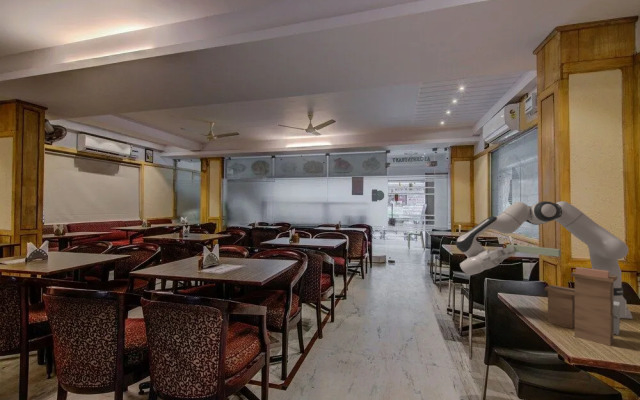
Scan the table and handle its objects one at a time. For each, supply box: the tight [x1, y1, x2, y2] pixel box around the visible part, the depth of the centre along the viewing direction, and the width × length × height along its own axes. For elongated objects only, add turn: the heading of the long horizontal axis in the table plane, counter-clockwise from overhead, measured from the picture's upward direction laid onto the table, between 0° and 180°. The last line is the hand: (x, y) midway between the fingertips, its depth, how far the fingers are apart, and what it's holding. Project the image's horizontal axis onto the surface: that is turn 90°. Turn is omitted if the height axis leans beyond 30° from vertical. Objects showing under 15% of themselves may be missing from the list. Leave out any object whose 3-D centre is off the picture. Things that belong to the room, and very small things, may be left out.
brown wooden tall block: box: [570, 270, 617, 347], centre depth 130 cm, size 9×13×26 cm
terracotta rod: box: [575, 266, 609, 278], centre depth 129 cm, size 2×10×2 cm, turn 39°
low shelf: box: [544, 284, 575, 329], centre depth 147 cm, size 9×11×16 cm
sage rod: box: [505, 244, 562, 258], centre depth 149 cm, size 3×21×3 cm, turn 39°
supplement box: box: [614, 301, 621, 336], centre depth 139 cm, size 7×7×13 cm
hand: (516, 247), depth 154 cm, fingers closed on sage rod, 3 cm apart
